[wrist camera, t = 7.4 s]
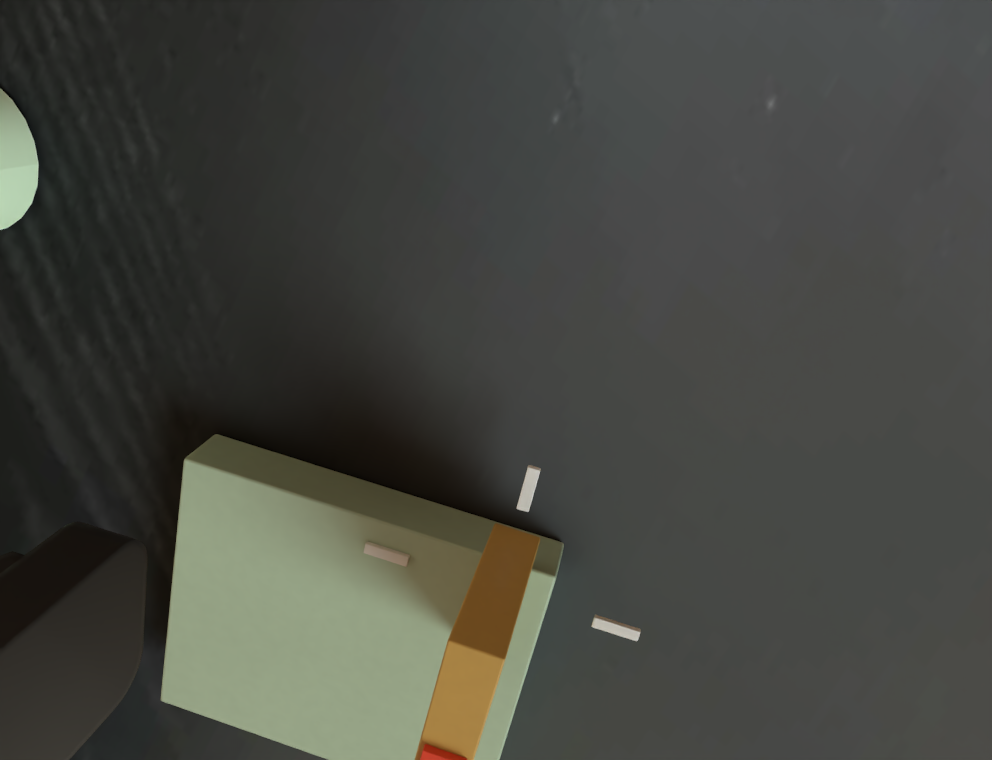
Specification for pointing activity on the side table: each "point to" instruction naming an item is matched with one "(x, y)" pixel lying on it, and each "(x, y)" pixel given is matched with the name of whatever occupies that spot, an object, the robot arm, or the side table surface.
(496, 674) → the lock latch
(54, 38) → the side table surface
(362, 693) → the plate
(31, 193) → the candle
